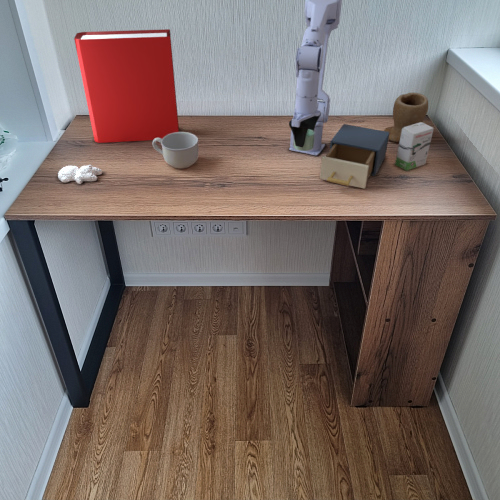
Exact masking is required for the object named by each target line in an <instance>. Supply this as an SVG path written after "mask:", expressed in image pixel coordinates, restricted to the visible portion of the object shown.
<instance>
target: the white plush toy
mask: <svg viewBox="0 0 500 500" xmlns="http://www.w3.org/2000/svg"><path fill="white" fill-rule="evenodd" d="M102 174H103V170H102V169H101V168H99V167H97V166H93V165H91V164H88V165H82V166H80V167H79V166H76V165H66V166H63V167H62V168H61V169H60V170H59V171H58V173H57V177H58V180H59V181H61V182H62V183H64V184H65V183H69V182H73V181H75V182H76V183H77V184H78V185H82V184H83V182H96V181H97V180H98V176H100V175H102Z"/></svg>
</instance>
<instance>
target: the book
mask: <svg viewBox="0 0 500 500" xmlns="http://www.w3.org/2000/svg"><path fill="white" fill-rule="evenodd" d="M73 38H74V39H73V40H74V44H75V45H74V46H75V49H76V55H77V59H78V60H77V61H78V64H79V69H80V75H81V80H82V85H83V89H84V94H85V99H86V105H87V109H88V115H89V120H90V125H91V129H92V134H93V141H94V142H95V143H98V144H104V143H123V142H125V143H126V142H141V141H143V142H144V141H153V140H154V139H155V138H161V139H163V138H164V137H165V136H166V135H168V134H171V133H175V132H179V129H180V126H179V116H178V104H177V93H176V92H177V91H176V83H175V82H176V81H175V72H174V59H173V49H172V37H171V29H170V28H168V29H138V30H137V29H136V30H135V29H134V30H104V31H103V30H100V31H81V32H77V33H76V34H75V36H74V37H73Z"/></svg>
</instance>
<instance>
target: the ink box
mask: <svg viewBox="0 0 500 500" xmlns="http://www.w3.org/2000/svg"><path fill="white" fill-rule="evenodd" d="M434 129H435V128H434V127H433V126H431V125H428V124H426V123H425V122H420V123H416V124H413V125H410V126H406V127H404V128H402V132H401V137H400V142H398V148H397V153H396V157H395V163H394V165H395V166H396V167H398V168H400V169H402V170H404V171H406V172H407V171H410V170H413V169H415V168H419V167H421V166H424V165H426V162H427V159H428V155H429V150H430V146H431V141H432V137H433V133H434Z"/></svg>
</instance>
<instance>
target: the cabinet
mask: <svg viewBox="0 0 500 500" xmlns="http://www.w3.org/2000/svg"><path fill="white" fill-rule="evenodd" d="M389 133H390V132H386V131H384V130H380V129H375V128H368V127H363V126H359V125H352V124H346V123H343V124H342V125H341V127H340V128H339V129H338V131H337V132H336V133H335V135H334V136H333V137H332V139H331V140H330V143H329V150H330V149H331V148H332V147H333V145H334V144H340V145H345V146H350V147H355V148H361V149H366V150H371V151H376V158H375V164H374V169H373V171H372V172H371V174H370V176H374V177H375V176H376V175H377V173H378V171H379V169H380V167H381V166H382V164H383V162H384V160H385V158H386V155H387V150H388V149H387V148H388V145H389Z"/></svg>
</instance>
